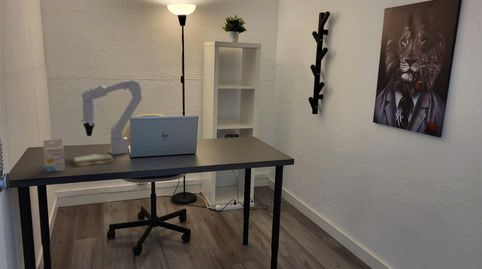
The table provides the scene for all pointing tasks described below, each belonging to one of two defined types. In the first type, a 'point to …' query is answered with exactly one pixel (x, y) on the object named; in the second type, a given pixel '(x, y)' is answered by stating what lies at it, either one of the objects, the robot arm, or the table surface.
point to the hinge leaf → (92, 157)
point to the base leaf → (92, 161)
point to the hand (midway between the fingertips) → (89, 135)
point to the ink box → (53, 155)
